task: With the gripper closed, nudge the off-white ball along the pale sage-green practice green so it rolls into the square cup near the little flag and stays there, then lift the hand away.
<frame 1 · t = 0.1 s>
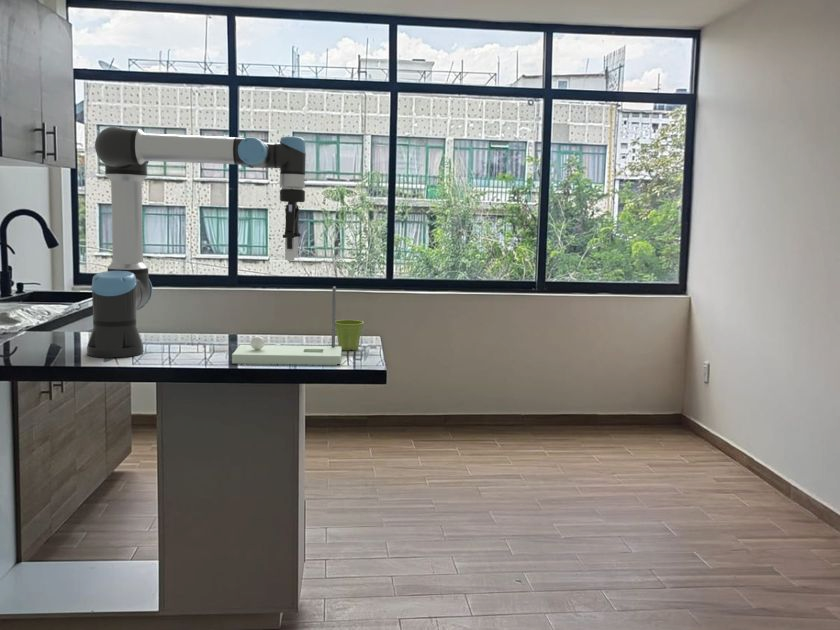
hand: (291, 258, 235), 28 cm above the table, tool pointing down, fingers open, 13 cm apart
green: (289, 358, 222), on the table
ball: (257, 342, 220), point 4 cm above the table, touching green
plant pot: (348, 349, 241), on the table
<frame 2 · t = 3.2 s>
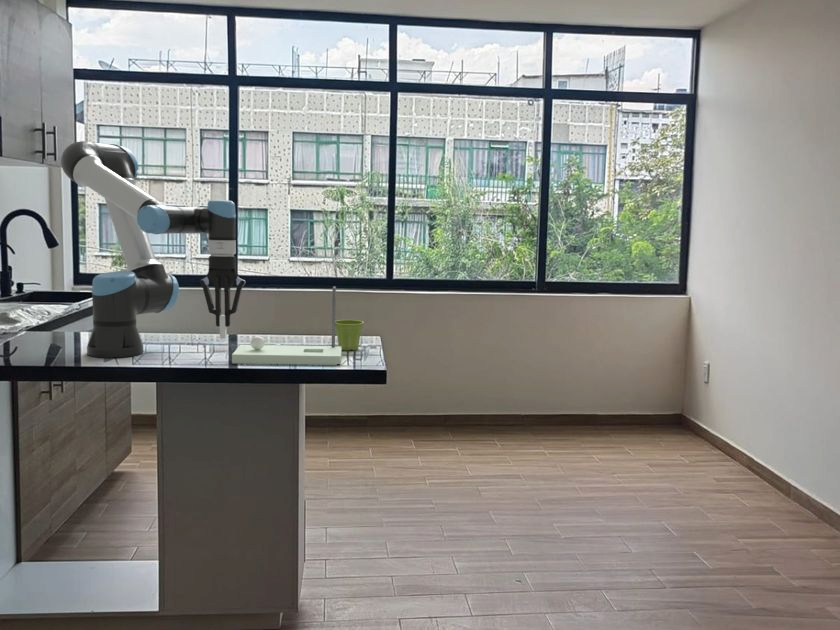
hand: (223, 337, 219), 6 cm above the table, tool pointing down, fingers closed
nothing on the table moved.
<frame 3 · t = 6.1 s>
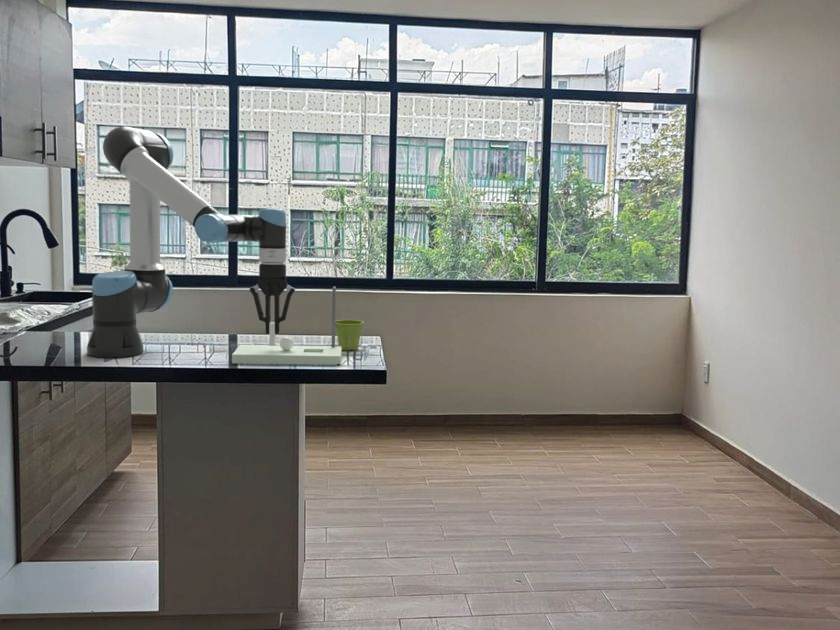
hand: (272, 345, 221), 4 cm above the table, tool pointing down, fingers closed
ball: (286, 343, 221), point 4 cm above the table, tilted 126°, touching green
everything else where it was.
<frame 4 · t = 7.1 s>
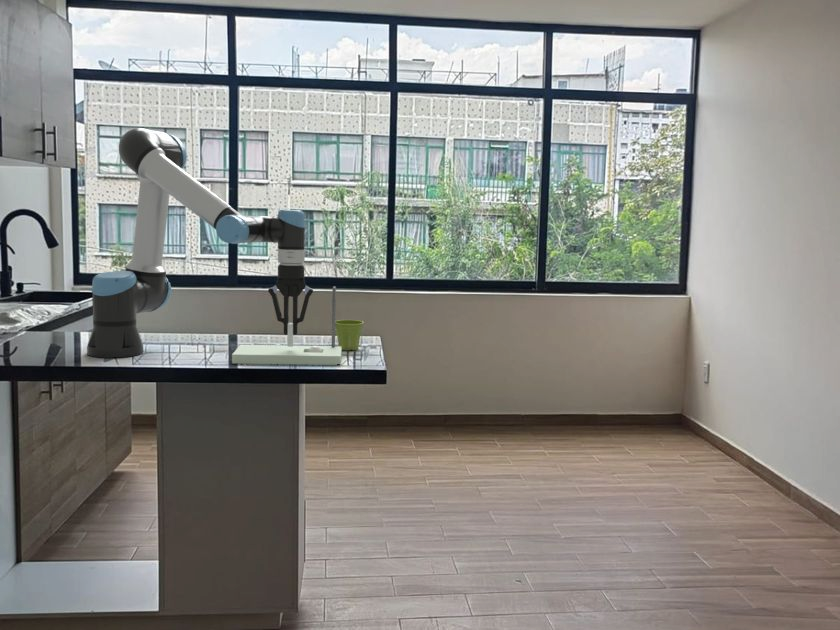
hand: (290, 345, 221), 4 cm above the table, tool pointing down, fingers closed
ball: (315, 352, 222), point 2 cm above the table, tilted 141°
everything else where it was.
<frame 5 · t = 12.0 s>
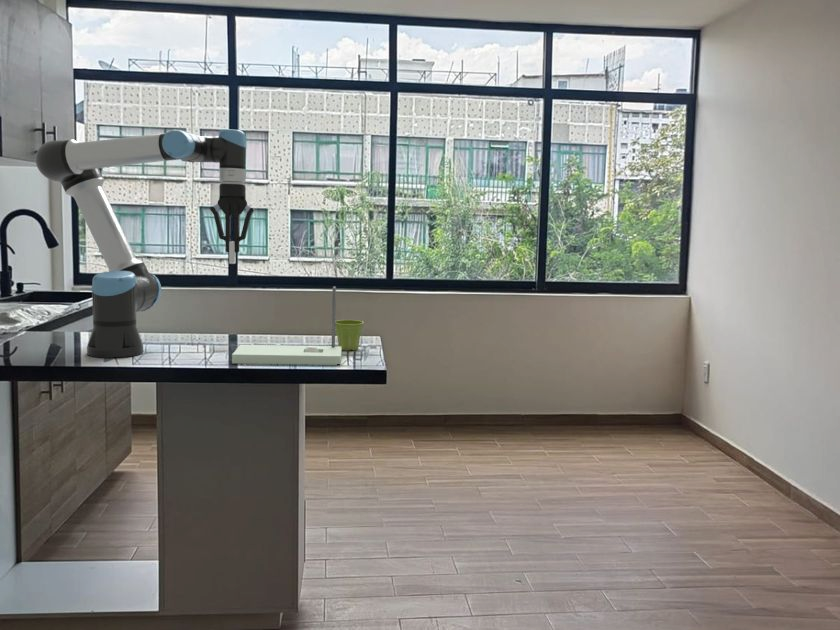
hand: (232, 263, 229), 26 cm above the table, tool pointing down, fingers closed
ball: (311, 352, 222), point 2 cm above the table, tilted 110°
everything else where it was.
at the end: ball 0.6 cm from the target spot on the green, point 2.0 cm above the green's base; ball moved 15.7 cm from its start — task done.
